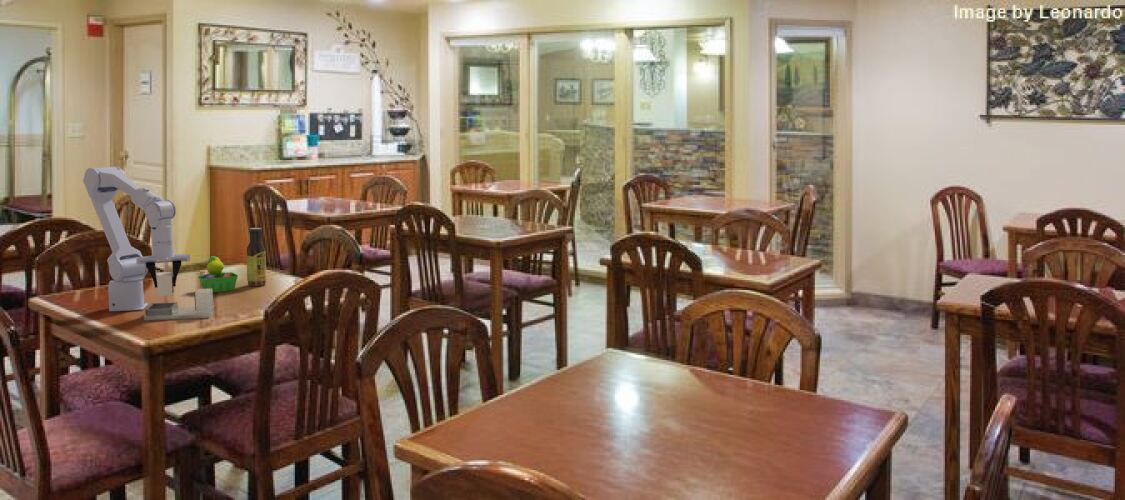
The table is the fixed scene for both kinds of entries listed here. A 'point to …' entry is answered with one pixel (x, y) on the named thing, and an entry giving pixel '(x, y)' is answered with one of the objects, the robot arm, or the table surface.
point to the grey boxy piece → (172, 311)
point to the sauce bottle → (256, 259)
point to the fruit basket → (217, 277)
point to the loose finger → (165, 284)
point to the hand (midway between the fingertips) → (165, 286)
